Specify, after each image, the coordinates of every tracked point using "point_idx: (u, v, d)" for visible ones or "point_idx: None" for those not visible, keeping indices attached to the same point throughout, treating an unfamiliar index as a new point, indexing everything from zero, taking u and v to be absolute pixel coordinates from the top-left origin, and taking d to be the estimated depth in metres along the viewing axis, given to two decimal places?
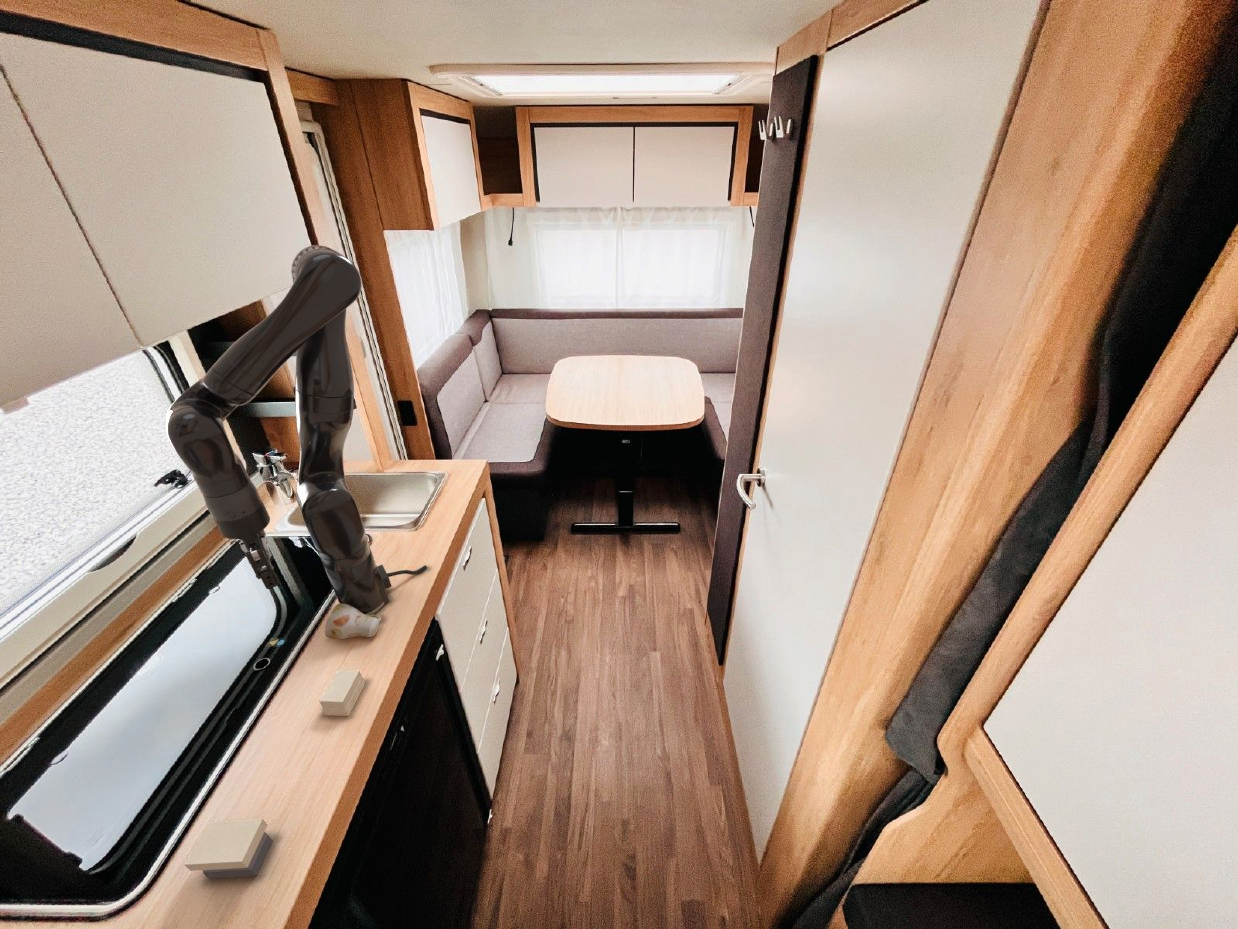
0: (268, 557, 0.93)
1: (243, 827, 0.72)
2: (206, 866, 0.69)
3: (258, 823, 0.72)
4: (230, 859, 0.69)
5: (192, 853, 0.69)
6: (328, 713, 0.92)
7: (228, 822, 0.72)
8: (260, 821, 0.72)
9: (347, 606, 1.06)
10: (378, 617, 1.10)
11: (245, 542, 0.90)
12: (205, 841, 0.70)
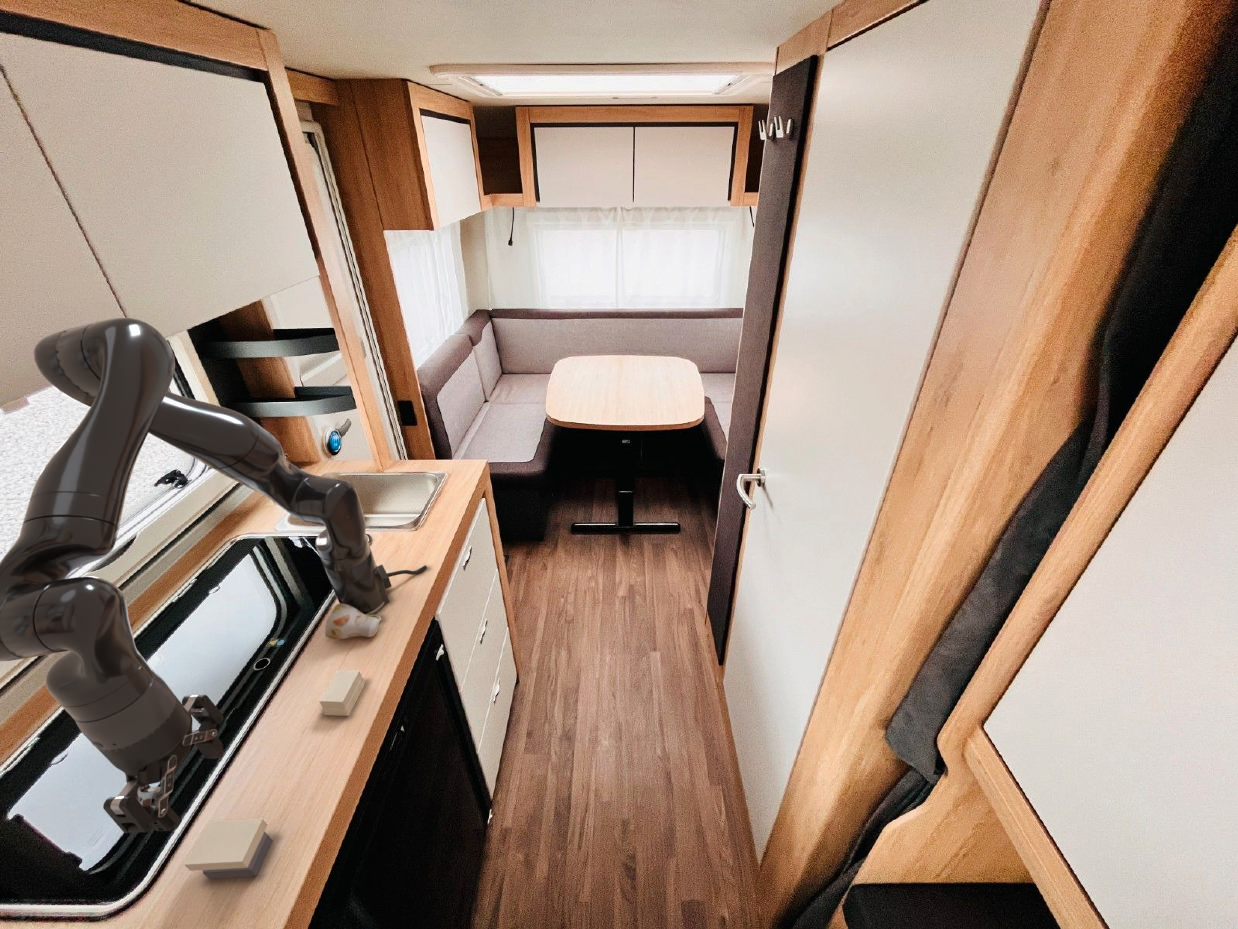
0: (160, 796, 0.60)
1: (243, 827, 0.72)
2: (206, 866, 0.69)
3: (258, 823, 0.72)
4: (230, 859, 0.69)
5: (192, 853, 0.69)
6: (328, 713, 0.92)
7: (228, 822, 0.72)
8: (260, 821, 0.72)
9: (347, 606, 1.06)
10: (378, 617, 1.10)
11: (125, 774, 0.58)
12: (205, 841, 0.70)
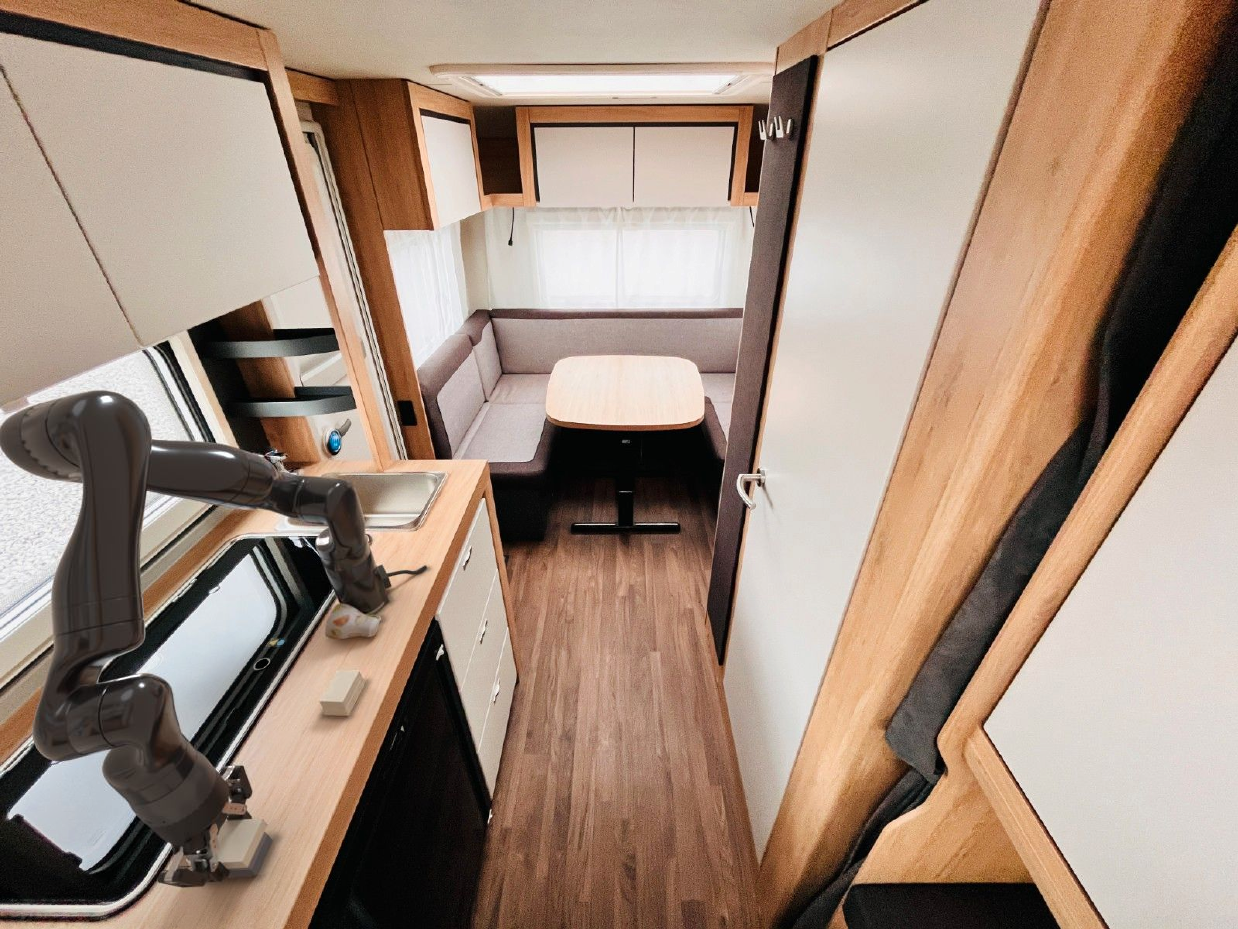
0: (209, 857, 0.66)
1: (243, 827, 0.72)
2: None
3: (258, 823, 0.72)
4: (230, 859, 0.69)
5: None
6: (328, 713, 0.92)
7: (228, 822, 0.72)
8: (260, 821, 0.72)
9: (347, 606, 1.06)
10: (378, 617, 1.10)
11: (172, 845, 0.63)
12: None
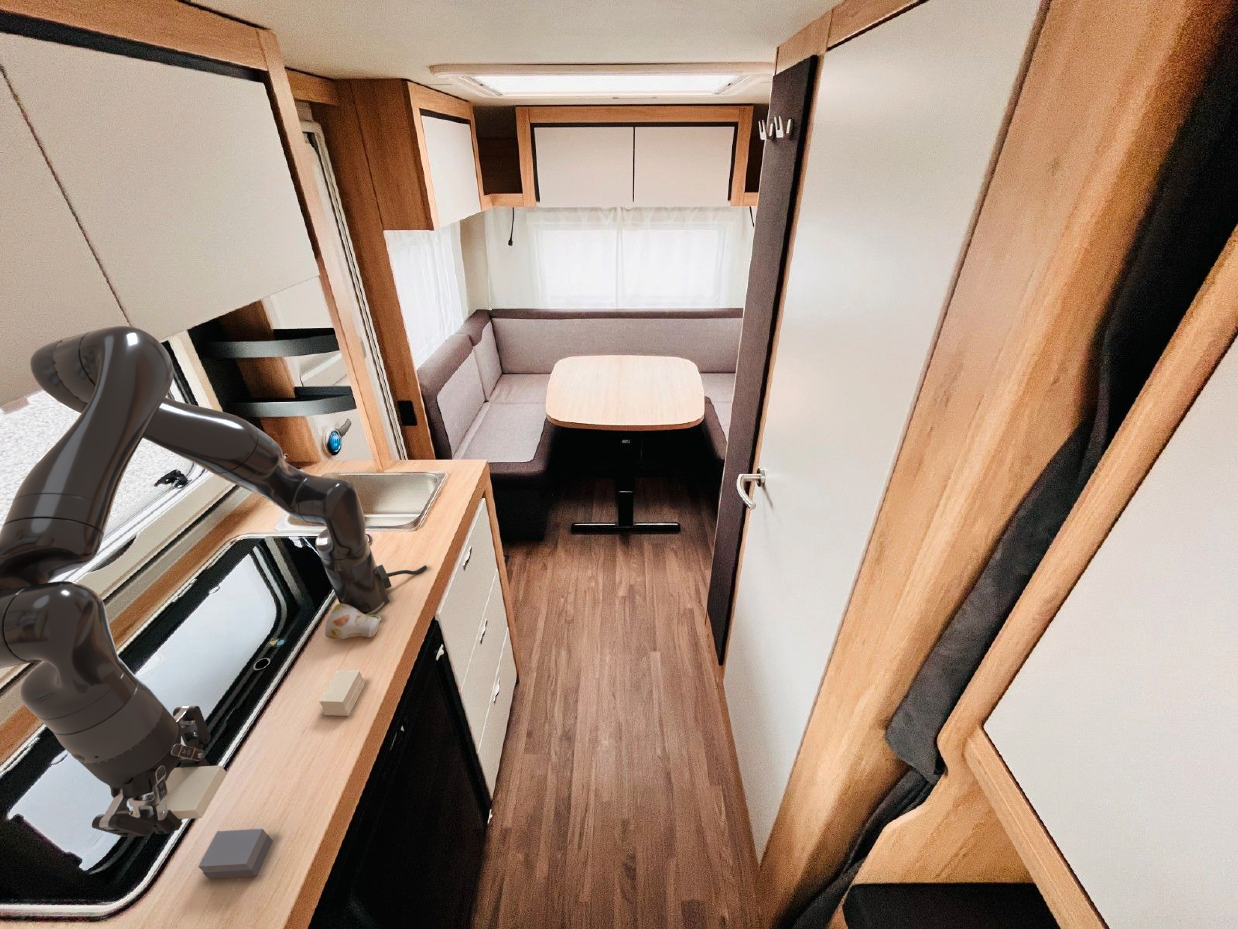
0: (156, 804, 0.58)
1: (198, 774, 0.64)
2: None
3: (215, 770, 0.65)
4: (181, 807, 0.61)
5: None
6: (328, 713, 0.92)
7: (182, 769, 0.65)
8: (218, 768, 0.65)
9: (347, 606, 1.06)
10: (378, 617, 1.10)
11: (110, 787, 0.55)
12: None
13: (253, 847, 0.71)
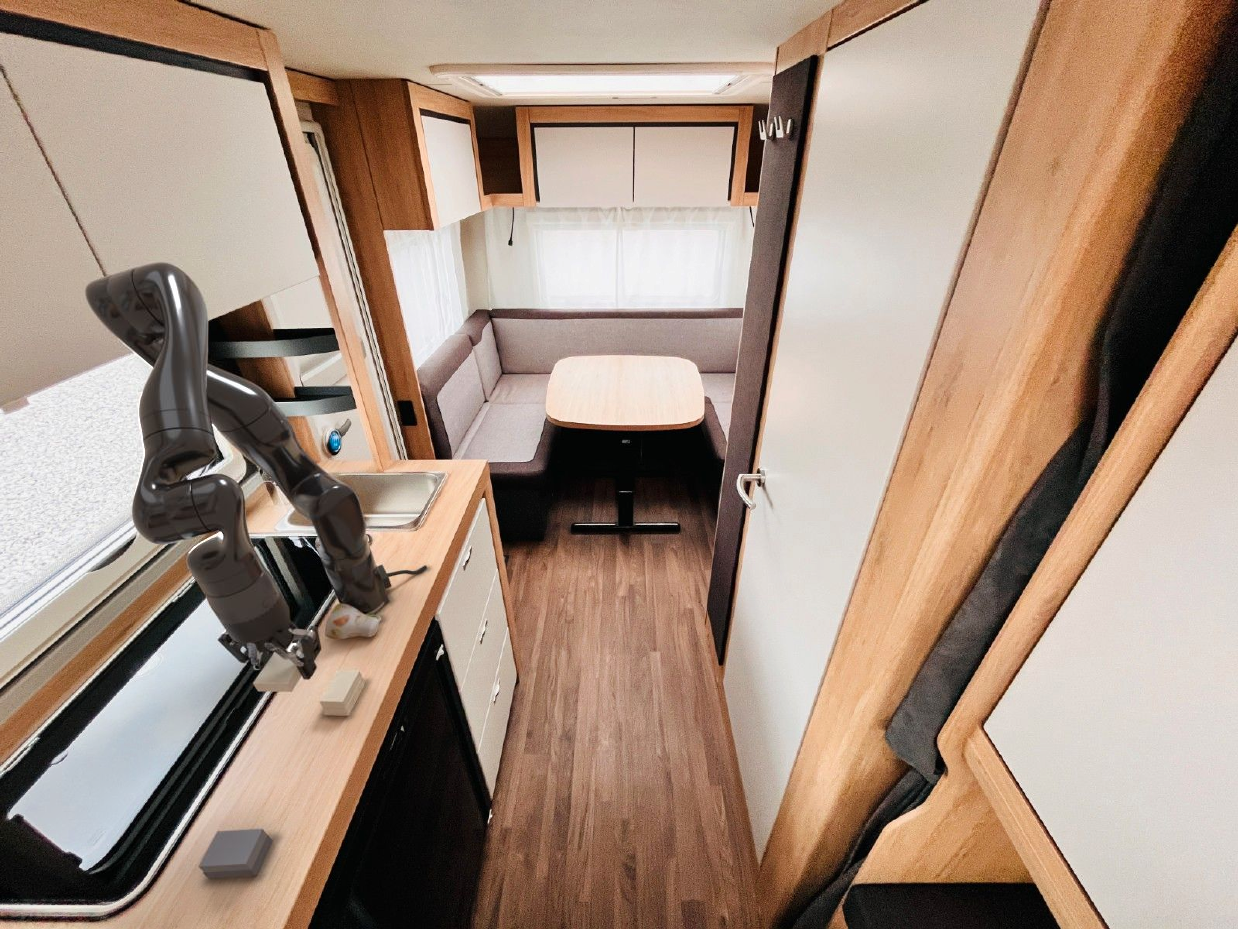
0: None
1: None
2: None
3: None
4: None
5: (279, 682, 0.75)
6: (328, 713, 0.92)
7: (266, 665, 0.78)
8: None
9: (347, 606, 1.06)
10: (378, 617, 1.10)
11: (284, 630, 0.73)
12: (274, 676, 0.76)
13: (253, 847, 0.71)
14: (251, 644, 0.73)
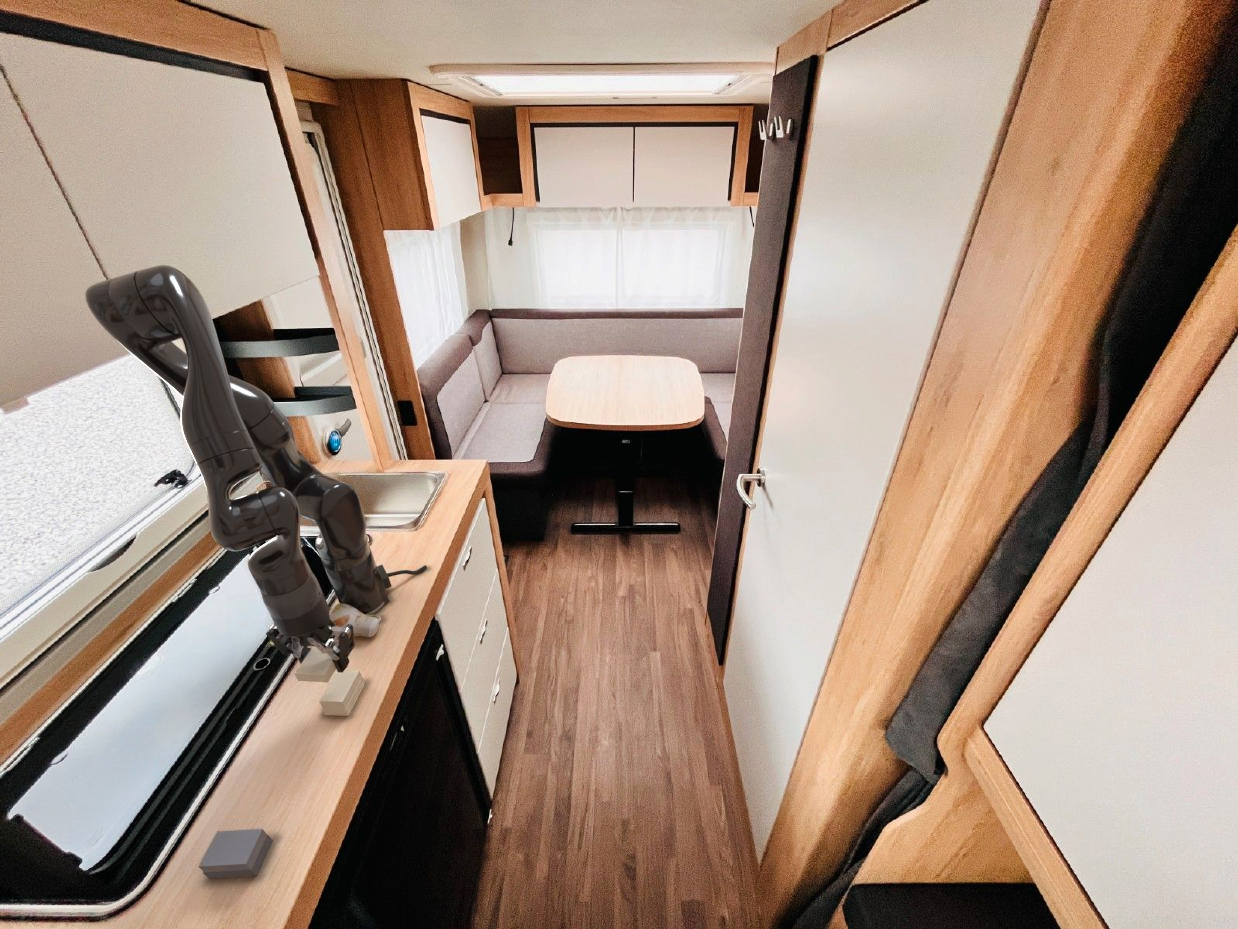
0: None
1: None
2: (334, 665, 0.87)
3: None
4: None
5: (317, 673, 0.85)
6: (328, 713, 0.92)
7: (306, 658, 0.87)
8: None
9: (347, 606, 1.06)
10: (378, 617, 1.10)
11: (325, 627, 0.83)
12: (313, 667, 0.86)
13: (253, 847, 0.71)
14: (295, 638, 0.83)
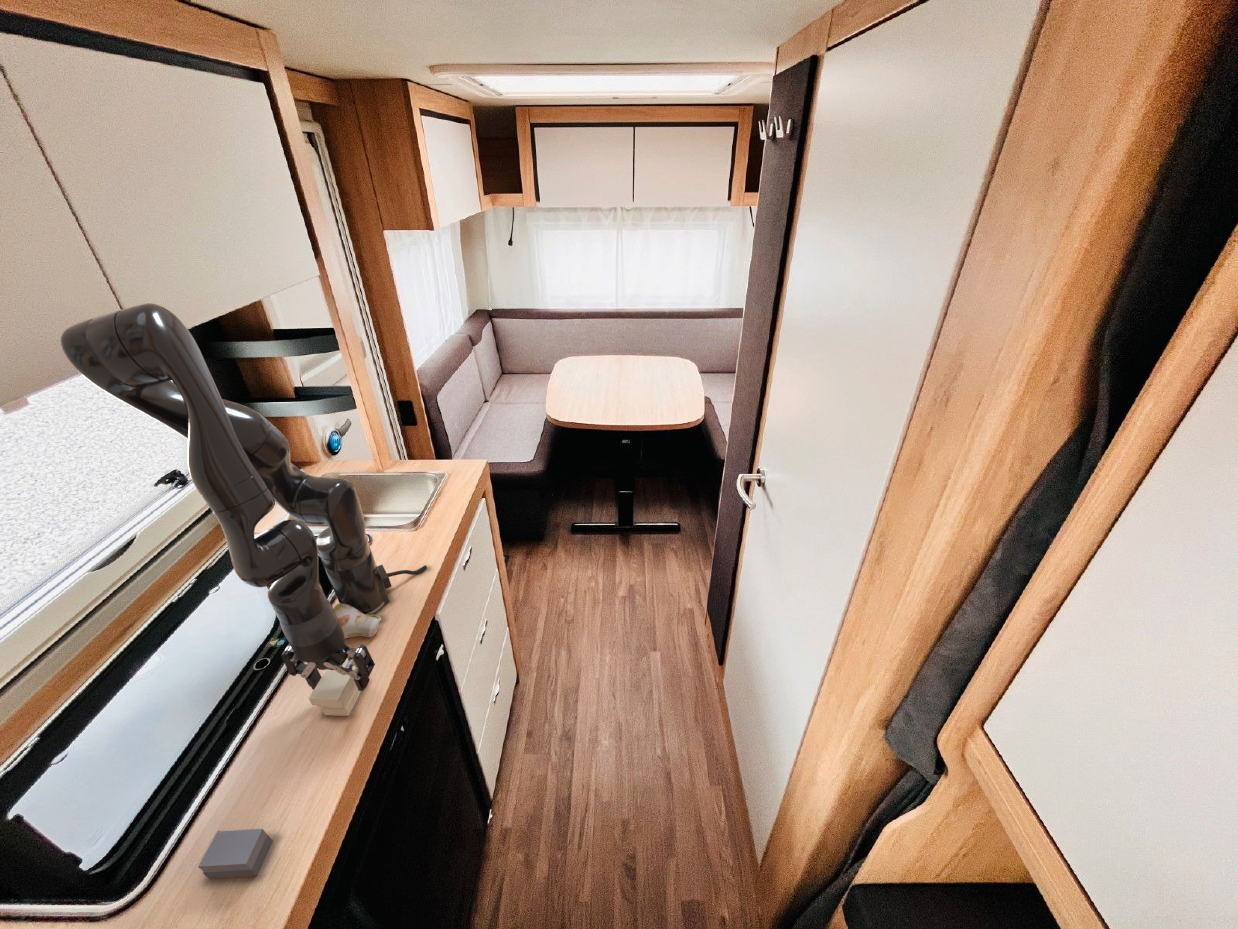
0: None
1: (330, 671, 0.93)
2: (346, 689, 0.91)
3: None
4: None
5: (330, 698, 0.89)
6: (328, 713, 0.92)
7: (319, 683, 0.91)
8: None
9: (347, 606, 1.06)
10: (378, 617, 1.10)
11: (340, 652, 0.86)
12: (326, 692, 0.89)
13: (253, 847, 0.71)
14: (312, 663, 0.86)
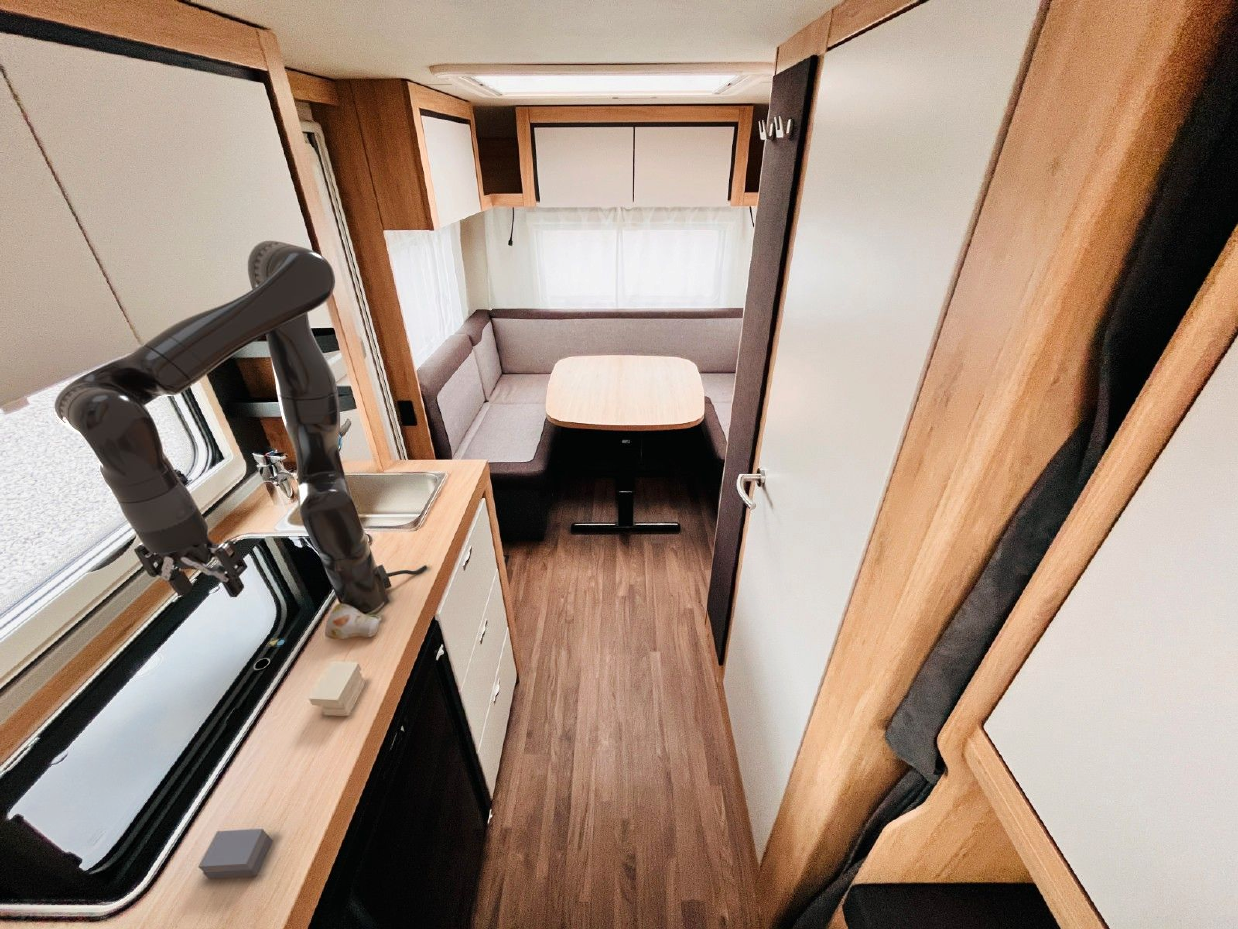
0: None
1: (330, 671, 0.93)
2: (346, 689, 0.91)
3: (333, 662, 0.95)
4: (351, 670, 0.93)
5: (330, 698, 0.89)
6: (328, 713, 0.92)
7: (319, 683, 0.91)
8: (333, 661, 0.95)
9: (347, 606, 1.06)
10: (378, 617, 1.10)
11: (200, 546, 0.76)
12: (326, 692, 0.89)
13: (253, 847, 0.71)
14: (169, 558, 0.76)
